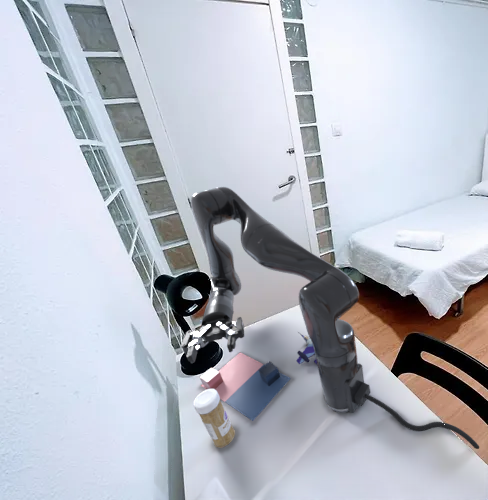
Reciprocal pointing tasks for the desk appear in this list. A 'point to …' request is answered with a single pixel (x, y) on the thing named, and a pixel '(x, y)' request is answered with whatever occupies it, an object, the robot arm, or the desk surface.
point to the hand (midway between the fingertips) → (210, 354)
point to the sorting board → (247, 386)
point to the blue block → (269, 373)
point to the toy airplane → (306, 351)
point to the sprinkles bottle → (214, 417)
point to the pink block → (211, 379)
